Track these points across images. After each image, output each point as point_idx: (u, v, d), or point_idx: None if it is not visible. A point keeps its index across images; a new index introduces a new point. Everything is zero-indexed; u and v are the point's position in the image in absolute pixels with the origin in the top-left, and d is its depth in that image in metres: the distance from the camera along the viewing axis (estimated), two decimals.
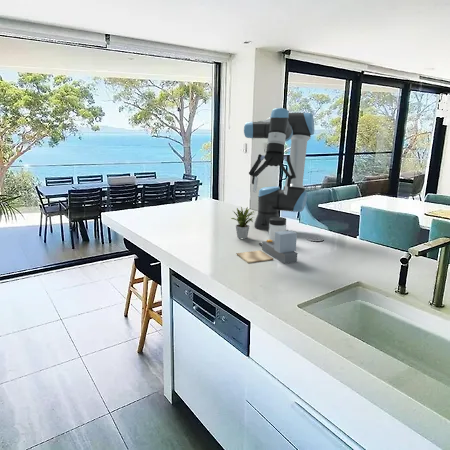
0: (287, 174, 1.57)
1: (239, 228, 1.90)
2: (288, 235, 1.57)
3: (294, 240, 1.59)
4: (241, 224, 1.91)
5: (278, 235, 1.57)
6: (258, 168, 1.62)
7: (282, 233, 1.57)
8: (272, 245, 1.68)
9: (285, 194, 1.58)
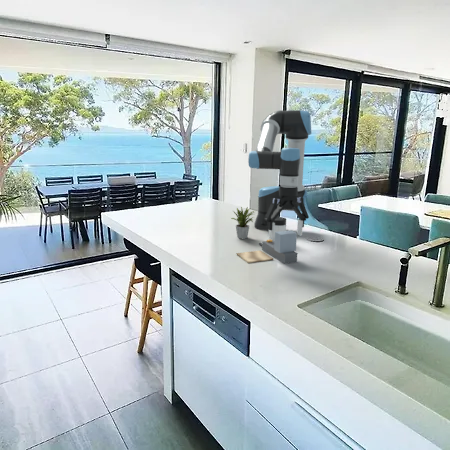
0: (302, 216, 1.59)
1: (239, 228, 1.90)
2: (288, 235, 1.57)
3: (294, 240, 1.59)
4: (241, 224, 1.91)
5: (278, 235, 1.57)
6: (276, 214, 1.53)
7: (282, 233, 1.57)
8: (272, 245, 1.68)
9: (298, 234, 1.62)
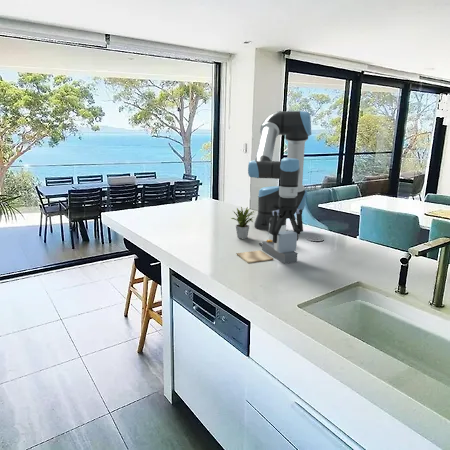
0: (297, 229, 1.59)
1: (239, 228, 1.90)
2: (288, 235, 1.57)
3: (294, 240, 1.59)
4: (241, 224, 1.91)
5: None
6: (278, 226, 1.55)
7: (282, 233, 1.57)
8: (272, 245, 1.68)
9: None
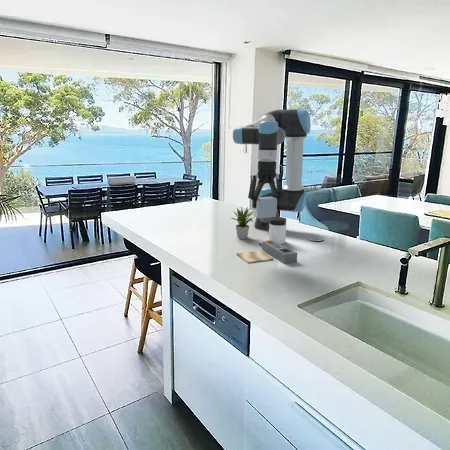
0: (277, 195, 1.57)
1: (239, 228, 1.90)
2: (268, 200, 1.55)
3: (274, 205, 1.57)
4: (241, 224, 1.91)
5: (258, 200, 1.55)
6: (257, 191, 1.53)
7: (262, 198, 1.55)
8: (272, 245, 1.68)
9: None
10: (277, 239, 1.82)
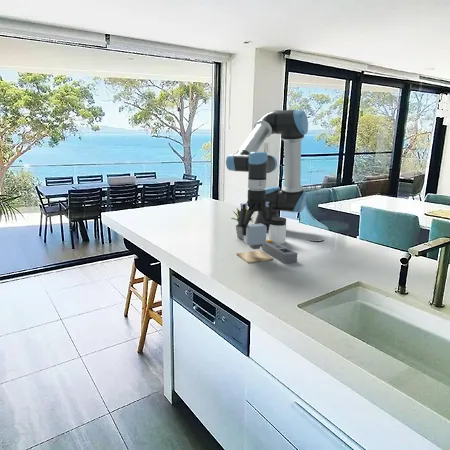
0: (266, 222, 1.61)
1: (239, 228, 1.90)
2: (257, 228, 1.58)
3: (263, 233, 1.60)
4: None
5: None
6: (247, 219, 1.57)
7: (251, 226, 1.59)
8: (272, 245, 1.68)
9: None
10: (277, 239, 1.82)
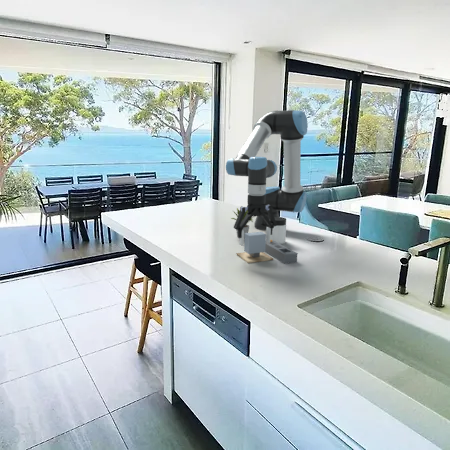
0: (270, 224, 1.62)
1: None
2: (257, 236, 1.60)
3: (263, 241, 1.61)
4: None
5: (247, 236, 1.59)
6: (244, 222, 1.57)
7: (251, 234, 1.60)
8: (272, 245, 1.68)
9: (267, 241, 1.65)
10: (277, 239, 1.82)
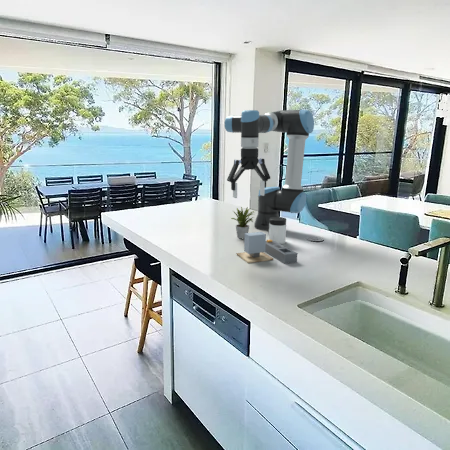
0: (264, 177, 1.66)
1: (239, 228, 1.90)
2: (257, 236, 1.60)
3: (263, 241, 1.61)
4: (241, 224, 1.91)
5: (247, 236, 1.59)
6: (238, 174, 1.61)
7: (251, 234, 1.60)
8: (272, 245, 1.68)
9: (261, 194, 1.70)
10: (277, 239, 1.82)
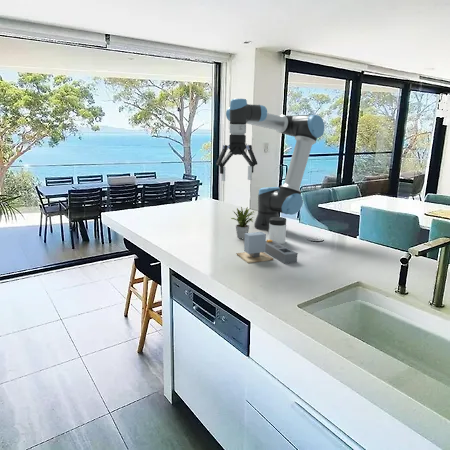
0: (251, 162, 1.77)
1: (239, 228, 1.90)
2: (257, 236, 1.60)
3: (263, 241, 1.61)
4: (241, 224, 1.91)
5: (247, 236, 1.59)
6: (226, 159, 1.72)
7: (251, 234, 1.60)
8: (272, 245, 1.68)
9: (248, 179, 1.80)
10: (277, 239, 1.82)
